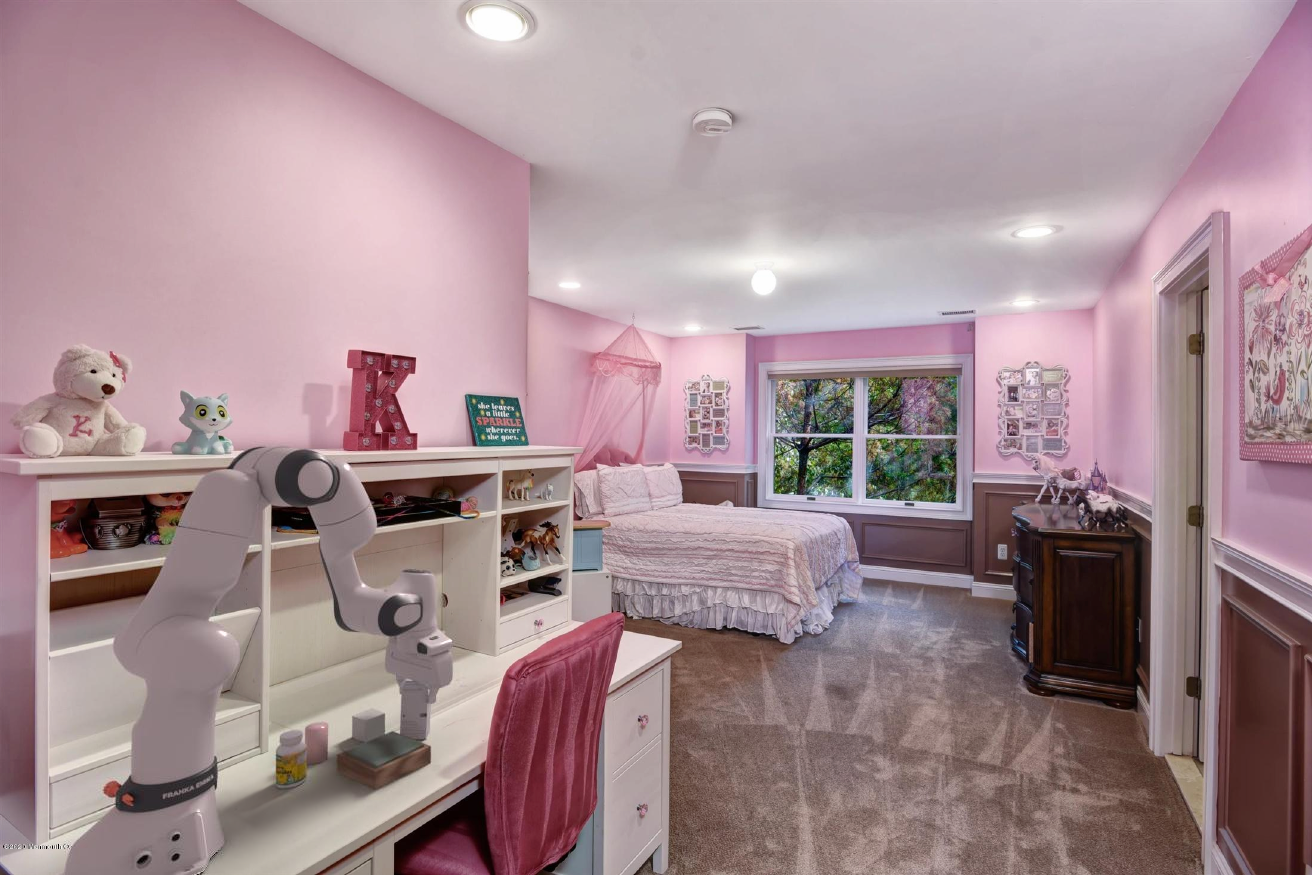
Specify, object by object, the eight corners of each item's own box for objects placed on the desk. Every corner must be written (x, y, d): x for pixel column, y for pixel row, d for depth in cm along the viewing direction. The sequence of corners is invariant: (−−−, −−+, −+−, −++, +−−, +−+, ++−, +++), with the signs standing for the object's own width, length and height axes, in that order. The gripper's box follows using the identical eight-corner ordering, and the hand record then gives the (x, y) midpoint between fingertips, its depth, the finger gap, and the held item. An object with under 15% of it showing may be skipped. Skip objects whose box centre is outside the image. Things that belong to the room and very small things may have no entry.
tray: (375, 789, 128) (375, 768, 128) (336, 771, 135) (337, 751, 135) (430, 762, 139) (430, 743, 139) (392, 746, 146) (392, 728, 146)
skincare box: (399, 740, 149) (399, 687, 149) (404, 732, 153) (404, 680, 154) (427, 739, 150) (427, 686, 150) (431, 730, 154) (431, 679, 154)
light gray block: (365, 742, 148) (365, 720, 148) (352, 737, 151) (352, 715, 151) (384, 734, 152) (385, 713, 152) (371, 729, 155) (371, 708, 155)
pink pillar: (311, 766, 137) (312, 732, 137) (300, 760, 139) (300, 727, 139) (331, 757, 141) (332, 725, 141) (320, 752, 143) (320, 720, 143)
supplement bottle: (312, 776, 133) (313, 729, 133) (292, 790, 127) (293, 740, 127) (289, 774, 134) (289, 726, 134) (268, 787, 128) (269, 738, 129)
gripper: (377, 634, 155) (377, 693, 155) (434, 650, 144) (434, 712, 144) (400, 628, 160) (401, 684, 160) (457, 642, 149) (457, 703, 149)
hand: (417, 698), depth 152 cm, fingers open, 8 cm apart
